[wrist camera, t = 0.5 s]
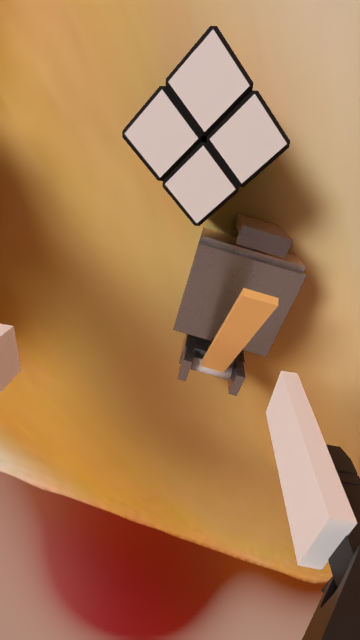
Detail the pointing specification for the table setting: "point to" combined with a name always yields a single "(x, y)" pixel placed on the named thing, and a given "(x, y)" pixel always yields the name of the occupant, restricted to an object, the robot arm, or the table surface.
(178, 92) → the puzzle cube
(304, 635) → the robot arm
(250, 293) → the strap
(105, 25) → the table surface
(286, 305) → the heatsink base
